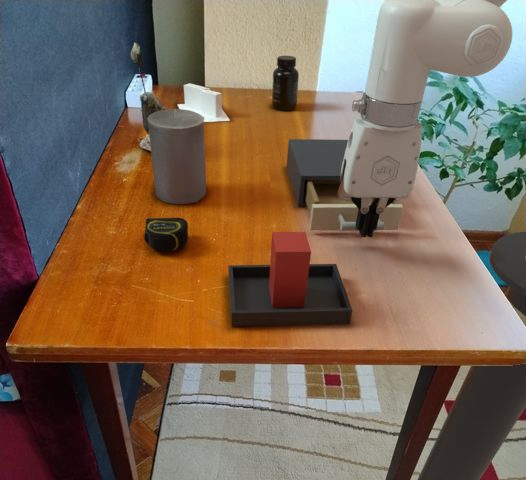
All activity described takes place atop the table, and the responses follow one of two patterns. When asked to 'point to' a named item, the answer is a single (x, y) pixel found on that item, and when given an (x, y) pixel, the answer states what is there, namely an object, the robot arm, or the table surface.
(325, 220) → the drawer
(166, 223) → the tape measure
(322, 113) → the table surface
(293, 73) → the supplement bottle
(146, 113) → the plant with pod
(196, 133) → the pillar candle
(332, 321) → the tray
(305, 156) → the cabinet
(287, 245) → the card box
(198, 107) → the napkin holder
